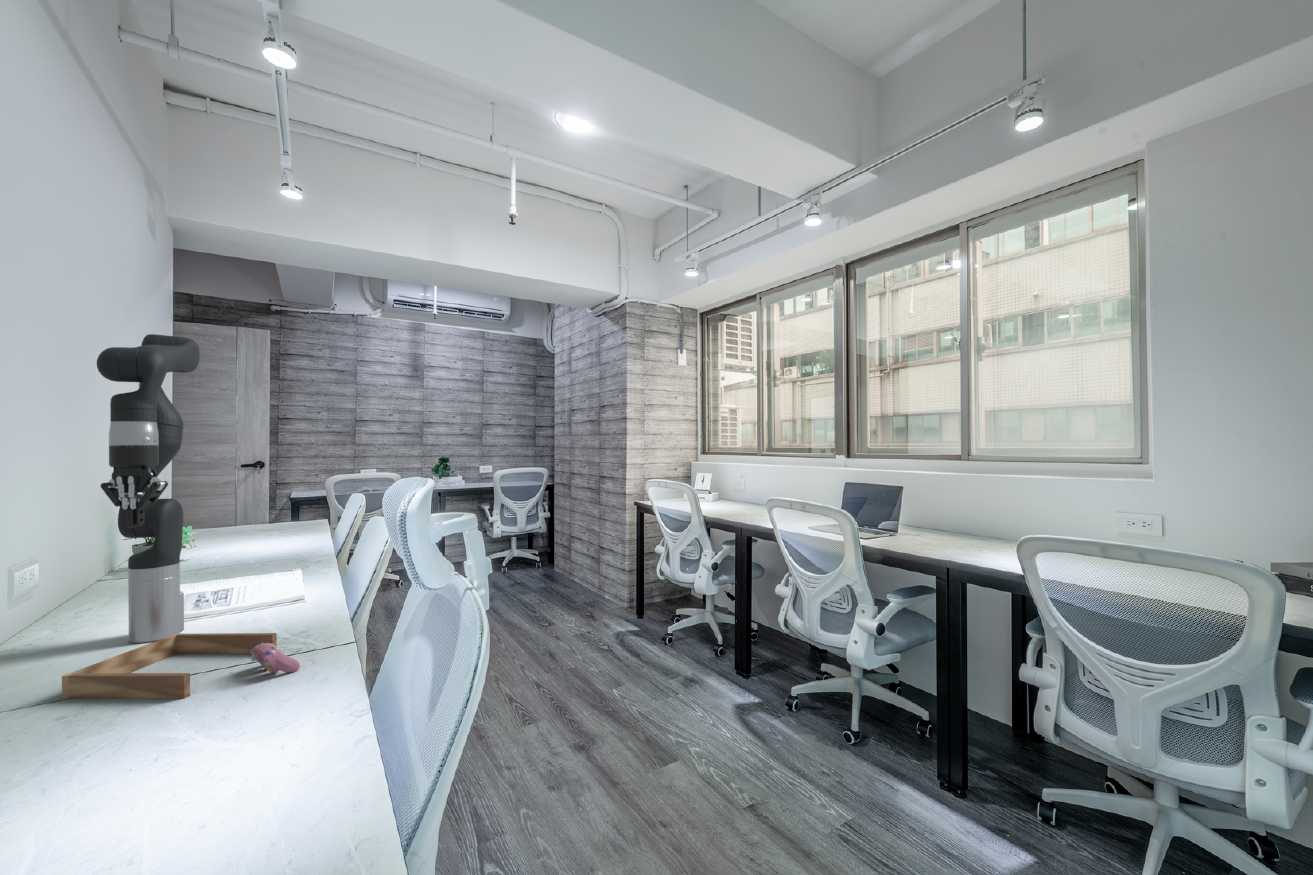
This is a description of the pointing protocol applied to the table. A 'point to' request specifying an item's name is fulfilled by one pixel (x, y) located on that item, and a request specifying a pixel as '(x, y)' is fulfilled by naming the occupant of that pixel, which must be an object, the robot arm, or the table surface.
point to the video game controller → (273, 658)
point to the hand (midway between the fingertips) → (134, 526)
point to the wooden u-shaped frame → (116, 672)
